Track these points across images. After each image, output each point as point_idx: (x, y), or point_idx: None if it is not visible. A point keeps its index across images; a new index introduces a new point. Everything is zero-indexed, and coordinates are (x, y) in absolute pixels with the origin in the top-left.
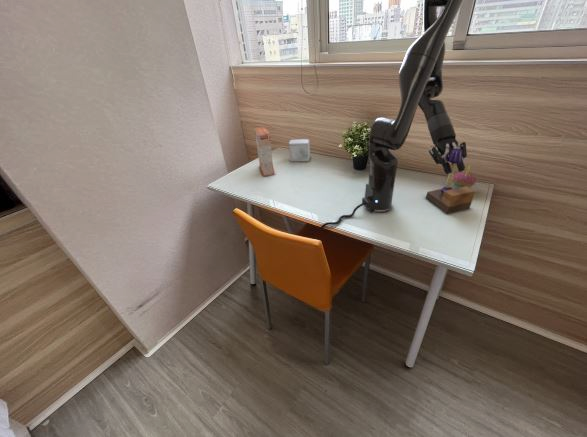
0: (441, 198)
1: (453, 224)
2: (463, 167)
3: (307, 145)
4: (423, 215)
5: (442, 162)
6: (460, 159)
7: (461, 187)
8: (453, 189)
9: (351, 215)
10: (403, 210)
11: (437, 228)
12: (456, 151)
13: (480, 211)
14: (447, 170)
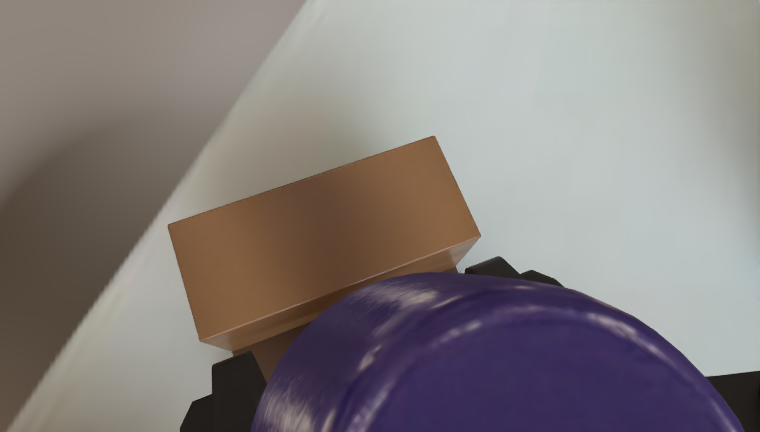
0: None
1: (404, 90)
2: (229, 380)
3: None
4: (572, 188)
5: (727, 380)
6: (356, 298)
7: (275, 308)
8: (377, 263)
9: None
10: (706, 253)
11: (509, 54)
12: (630, 319)
13: (156, 239)
14: (547, 279)
